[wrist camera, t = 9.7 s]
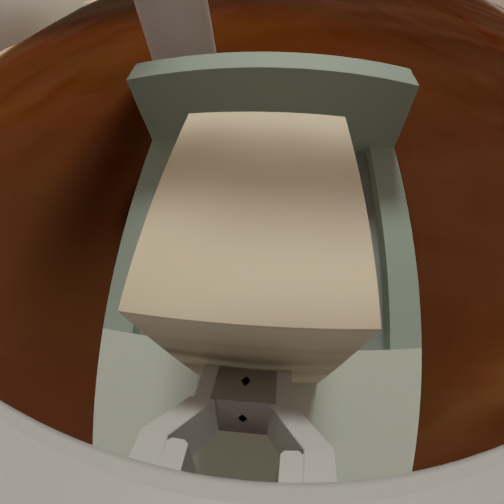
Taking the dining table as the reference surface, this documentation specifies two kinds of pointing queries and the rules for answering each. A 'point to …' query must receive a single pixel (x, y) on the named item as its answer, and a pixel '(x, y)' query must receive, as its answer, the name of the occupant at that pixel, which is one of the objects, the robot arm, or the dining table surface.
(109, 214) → the dining table surface
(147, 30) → the cylindrical container
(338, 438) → the board
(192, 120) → the birch block
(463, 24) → the dining table surface
